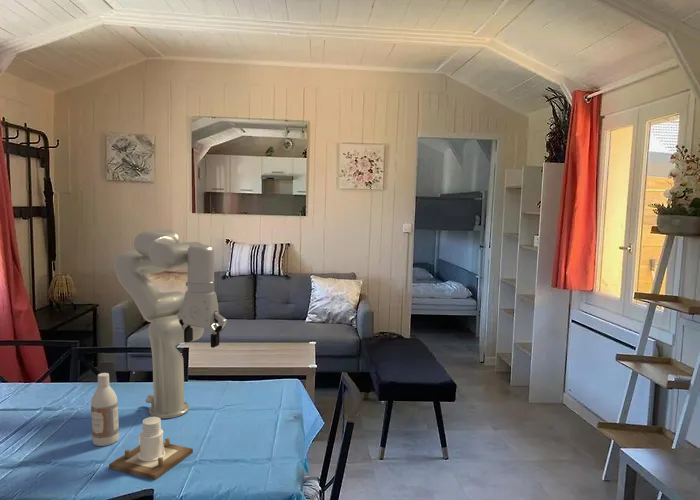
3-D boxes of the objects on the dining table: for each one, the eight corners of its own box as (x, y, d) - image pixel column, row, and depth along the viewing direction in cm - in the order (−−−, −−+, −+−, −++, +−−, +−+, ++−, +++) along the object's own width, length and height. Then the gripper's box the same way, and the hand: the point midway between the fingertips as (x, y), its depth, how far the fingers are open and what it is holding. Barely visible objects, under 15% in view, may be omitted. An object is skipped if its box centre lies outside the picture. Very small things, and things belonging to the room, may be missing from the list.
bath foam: (87, 444, 152) (84, 376, 150) (105, 434, 158) (102, 369, 156) (106, 448, 150) (104, 379, 147) (124, 437, 156) (121, 371, 154)
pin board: (109, 468, 139) (108, 456, 139) (149, 443, 153) (148, 432, 153) (155, 479, 134) (155, 467, 133) (192, 452, 148) (192, 441, 147)
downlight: (130, 457, 142) (130, 422, 141) (149, 446, 148) (149, 412, 147) (153, 465, 139) (154, 429, 138) (172, 453, 145) (172, 418, 144)
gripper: (168, 286, 156) (169, 343, 158) (217, 292, 149) (217, 351, 151) (186, 282, 162) (186, 336, 165) (233, 288, 156) (233, 344, 158)
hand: (201, 344), depth 158 cm, fingers open, 9 cm apart
